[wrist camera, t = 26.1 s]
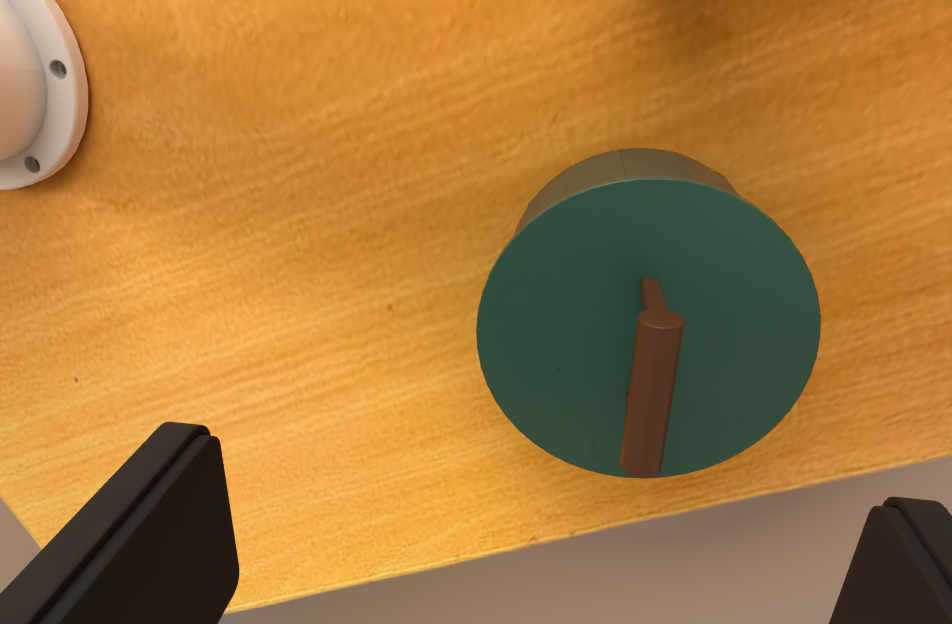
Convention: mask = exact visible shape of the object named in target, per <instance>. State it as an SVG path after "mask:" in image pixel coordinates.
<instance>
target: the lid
mask: <svg viewBox="0 0 952 624" xmlns="http://www.w3.org/2000/svg"><path fill="white" fill-rule="evenodd" d="M820 323H821V315H820V307H819V300H818V294H817V291H816V288H815V284H814V281H813V278H812V275H811V273H810V271H809V269H808V266H807V264H806V262H805V260H804V258H803V256H802V255H801V253H800V252H799V250H798V249H797V248H796V246H795V245H794V243H793V242H792V240H791V239H790V238H789V236H788V235H787V234H786V233H785V232H784V231H783V230H782V229H781V228H780V227H779V226H778V225H777V224H776V223H775V222H774V221H773V220H772V219H771V218H770V217H769V216H768V215H766V214H765V213H764V212H763V211H761V210H760V209H759V208H757V207H756V206H755V205H753V204H752V203H750V202H748V201H747V200H745V199H743V198H741V197H739V196H738V195H736V194H734V193H732V192H730V191H727V190H725V189H722V188H720V187H717V186H715V185H712V184H709V183H705V182H701V181H697V180H693V179H689V178H683V177H674V176H665V175H642V176H631V177H624V178H617V179H612V180H608V181H604V182H601V183H597V184H593V185H590V186H587V187H585V188H582V189H580V190H578V191H575V192H573V193H570V194H568V195H566V196H564V197H563V198H561V199H559V200H558V201H556V202H554V203H552V204H551V205H549V206H547V207H546V208H545V209H543V210H542V211H541V212H539V213H538V214H537V215H535V216H534V217H533V218H531V219H530V220H529V221H528V222H527V223H526V224H525V225H524V226H523V227H522V228H521V229H520V230H519V231H518V232H517V233H516V234H515V235H514V236H513V237H512V239H511V240H510V241H509V243H508V244H507V245H506V246H505V248H504V249H503V250H502V252H501V253H500V255H499V257H498V259H497V260H496V262H495V264H494V266H493V267H492V269H491V271H490V274H489V276H488V279H487V282H486V284H485V287H484V289H483V292H482V296H481V301H480V305H479V309H478V317H477V328H476V333H477V349H478V354H479V359H480V364H481V368H482V371H483V374H484V377H485V380H486V383H487V385H488V387H489V389H490V391H491V393H492V395H493V397H494V399H495V401H496V402H497V404H498V405H499V406H500V408H501V409H502V411H503V412H504V414H505V415H506V416H507V418H508V419H509V420H510V421H511V422H512V423H513V424H514V425H515V426H516V427H517V429H518V430H519V431H520V432H522V433H523V434H524V435H525V436H526V437H527V438H529V439H530V440H531V441H532V442H533V443H535V444H536V445H538V446H539V447H541V448H542V449H544V450H545V451H547V452H548V453H550V454H552V455H554V456H555V457H557V458H559V459H561V460H563V461H565V462H567V463H570V464H572V465H575V466H578V467H580V468H583V469H586V470H590V471H593V472H597V473H601V474H605V475H612V476H618V477H627V478H660V477H669V476H675V475H682V474H687V473H690V472H694V471H698V470H702V469H705V468H708V467H710V466H713V465H715V464H718V463H721V462H723V461H725V460H727V459H729V458H731V457H733V456H735V455H737V454H739V453H741V452H743V451H744V450H746V449H747V448H749V447H750V446H752V445H753V444H754V443H756V442H757V441H759V440H760V439H761V438H763V437H764V436H765V435H766V434H767V433H768V432H770V431H771V430H772V429H773V428H774V427H775V426H776V425H777V424H778V423H779V422H780V421H781V420H782V419H783V417H784V416H785V415H786V414H787V413H788V412H789V411H790V409H791V408H792V406H793V405H794V403H795V402H796V401H797V399H798V398H799V396H800V395H801V393H802V391H803V389H804V387H805V385H806V383H807V381H808V379H809V377H810V375H811V372H812V369H813V366H814V363H815V360H816V357H817V352H818V346H819V340H820Z"/></svg>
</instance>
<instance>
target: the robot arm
mask: <svg viewBox="0 0 952 624" xmlns="http://www.w3.org/2000/svg"><path fill="white" fill-rule="evenodd" d="M87 115H88V83H87V77H86V72H85V66H84V61H83V58H82V55H81V52H80V49H79V46H78V43H77V40H76V37H75V35H74V33H73V31H72V29H71V27H70V25H69V23H68V21H67V19H66V17H65V15H64V13H63V11H62V10H61V8H60V7H59V5H58V4H57V3H56V1H55V0H0V190H14V189H18V188H21V187H25V186H28V185H32V184H35V183H37V182H40V181H42V180H44V179H47V178H49V177H51V176H52V175H54V174H55V173H56V172H57V171H59V170H60V169H61V168H63V167H64V166H65V165H66V164H67V162H68V161H69V160H70V158H71V157H72V156H73V154H74V153H75V152H76V150H77V148H78V146H79V143H80V141H81V139H82V136H83V134H84V131H85V125H86V120H87ZM238 579H239V563H238V557H237V550H236V543H235V537H234V530H233V524H232V517H231V510H230V504H229V497H228V491H227V484H226V477H225V471H224V464H223V458H222V451H221V445H220V441H219V439H218V438H217V437H215V436H211V435H210V431H209V430H208V428H207V427H206V426H203V425H196V424H186V423H177V422H166V423H163V424H162V425H161V426H159V427H158V428H157V430H156V431H155V432H154V433H153V434H152V435H151V436H150V437H149V438H148V439H147V440H146V441H145V442H144V443H143V444H142V445H141V446H140V447H139V448H138V450H137V451H136V452H135V453H134V454H133V455H132V456H131V457H130V458H129V459H128V460H127V461H126V462H125V463H124V464H123V465H122V466H121V467H120V468H119V470H118V471H117V472H116V473H115V474H114V475H113V476H112V477H111V478H110V479H109V480H108V481H107V482H106V483H105V484H104V485H103V486H102V487H101V488H100V489H99V491H98V492H97V493H96V494H95V495H94V496H93V497H92V498H91V499H90V500H89V501H88V502H87V503H86V504H85V505H84V506H83V507H82V508H81V509H80V511H79V512H78V513H77V514H76V515H75V516H74V517H73V518H72V519H71V520H70V521H69V522H68V523H67V524H66V525H65V526H64V527H63V528H62V529H61V531H60V532H59V533H58V534H57V535H56V536H55V537H54V538H53V539H52V540H51V541H50V542H49V543H48V544H47V545H46V546H45V547H44V548H43V549H42V550H41V552H40V553H39V554H38V555H37V556H36V557H35V558H34V559H33V560H32V561H31V562H30V563H29V564H28V565H27V566H26V567H25V569H24V570H23V571H22V572H21V573H20V574H19V575H18V576H17V577H16V578H15V579H14V580H13V581H12V582H11V583H10V584H9V585H8V586H7V587H6V588H5V589H4V590H3V592H2V593H1V594H0V624H217V623H218V622H219V620H220V618H221V616H222V615H223V613H224V611H225V609H226V607H227V606H228V604H229V602H230V600H231V599H232V597H233V595H234V593H235V590H236V587H237V584H238ZM829 624H952V516H951V514H950V513H949V512H948V510H947V509H946V508H945V507H944V506H943V505H942V504H941V503H939V502H936V501H931V500H920V499H911V498H902V497H890V498H888V499H887V500H886V501H884V503H883V505H882V506H874V507H873V508H872V509H871V510H870V512H869V514H868V517H867V520H866V523H865V525H864V528H863V531H862V534H861V536H860V539H859V542H858V545H857V548H856V550H855V553H854V556H853V559H852V562H851V564H850V567H849V570H848V572H847V575H846V578H845V581H844V584H843V586H842V589H841V592H840V595H839V597H838V600H837V603H836V606H835V608H834V611H833V614H832V617H831V619H830V622H829Z"/></svg>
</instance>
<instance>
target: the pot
mask: <svg viewBox="0 0 952 624" xmlns="http://www.w3.org/2000/svg"><path fill="white" fill-rule="evenodd" d="M642 175H665V176H674V177H683V178H689V179H693V180H697V181H701V182H705V183H709V184H712V185H715V186H717V187H720V188H722V189H725V190H727V191H730V192H732V193H734V194H736V195H738V196H739V197H740V195H739V194H738V193H737V192H736V191H735V189H734V188H733V187H732V186H731V185H730V183H729V182H728V181H727V180H726V179H725V177H724V176H723V175H721V174H720V173H718V172H716V171H714V170H712V169H710V168H708V167H707V166H705V165H703V164H701V163H700V162H698V161H696V160H693V159H691V158H688V157H686V156H683V155H681V154H678V153H676V152H668V151H664V150H656V149H647V148H642V149H624V150H622V149H621V150H617V151H610V152H607V153H603V154H600V155H596V156H593V157H591V158H588V159H586V160H584V161H581V162H579V163H577V164H575V165H574V166H571V167H569V168H568V169H566V170H565V171H563V172H562V173H561V174H559V175H558V176H557V177H556V178H554V179H553V180H552V181H550V182H549V183H548V184H547V185H546V186H545V187H544V188H543V189H542V190H541V191H540V192H539V193H538V194H537V196H536V197H535V198H533V199H532V200H531V202H530V203H529V205H528V207H527V209H526V211H525V213H524V215H523V217H522V218H521V220H520V222H519V225H518V227H517V229H516V232H515V234H516V233H517V232H518V231H519V230H520V229H521V228H522V227H523V226H524V225H525V224H526V223H527V222H528V221H529V220H530V219H531V218H533V217H534V216H535V215H537V214H538V213H539V212H541V211H542V210H543V209H545V208H546V207H547V206H549V205H551V204H552V203H554V202H556V201H558V200H559V199H561V198H563V197H564V196H566V195H568V194H570V193H573V192H575V191H578V190H580V189H582V188H585V187H587V186H590V185H593V184H597V183H601V182H604V181H608V180H612V179H617V178H624V177H631V176H642ZM515 234H514V235H515Z"/></svg>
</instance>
